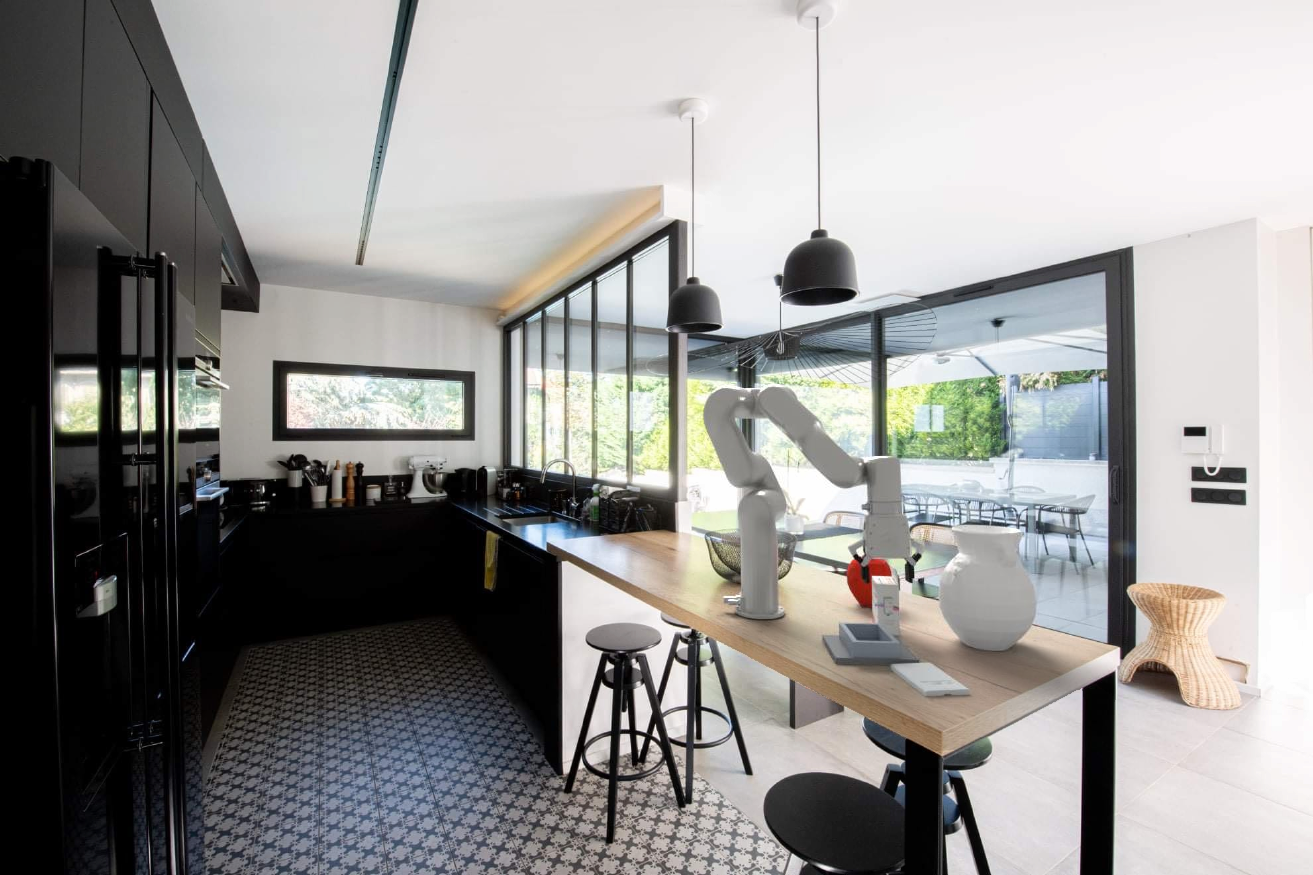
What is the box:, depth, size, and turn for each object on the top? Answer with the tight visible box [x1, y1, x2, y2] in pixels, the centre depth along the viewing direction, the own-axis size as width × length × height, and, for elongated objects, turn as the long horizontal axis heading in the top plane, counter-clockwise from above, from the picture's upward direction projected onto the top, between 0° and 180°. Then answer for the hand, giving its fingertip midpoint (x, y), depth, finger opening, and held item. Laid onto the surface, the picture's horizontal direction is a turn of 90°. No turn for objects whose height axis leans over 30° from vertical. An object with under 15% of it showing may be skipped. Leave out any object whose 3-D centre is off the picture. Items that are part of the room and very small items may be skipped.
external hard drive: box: [890, 662, 971, 697], centre depth 108 cm, size 2×8×12 cm
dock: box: [821, 621, 920, 666], centre depth 123 cm, size 16×14×4 cm
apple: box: [846, 555, 892, 608], centre depth 159 cm, size 12×12×13 cm
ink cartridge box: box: [871, 564, 901, 637], centre depth 138 cm, size 9×5×15 cm, turn 168°
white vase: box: [938, 524, 1037, 652], centre depth 128 cm, size 19×18×25 cm
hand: (887, 582), depth 138 cm, fingers open, 9 cm apart
